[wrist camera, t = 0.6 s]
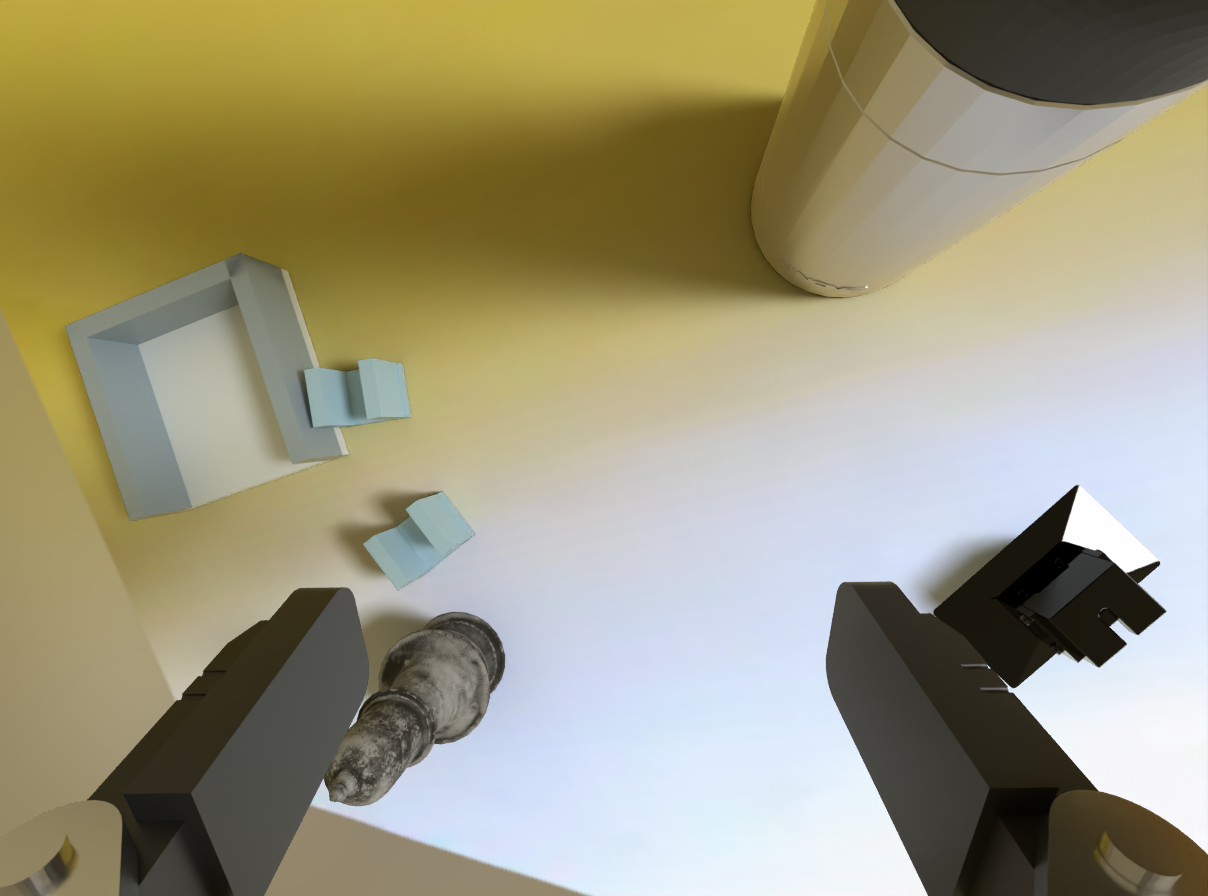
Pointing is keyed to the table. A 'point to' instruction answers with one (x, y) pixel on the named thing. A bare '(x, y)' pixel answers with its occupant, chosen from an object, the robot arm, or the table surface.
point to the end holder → (203, 387)
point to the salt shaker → (418, 705)
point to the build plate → (1056, 592)
